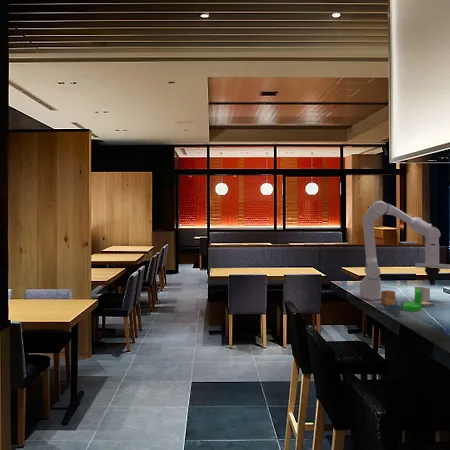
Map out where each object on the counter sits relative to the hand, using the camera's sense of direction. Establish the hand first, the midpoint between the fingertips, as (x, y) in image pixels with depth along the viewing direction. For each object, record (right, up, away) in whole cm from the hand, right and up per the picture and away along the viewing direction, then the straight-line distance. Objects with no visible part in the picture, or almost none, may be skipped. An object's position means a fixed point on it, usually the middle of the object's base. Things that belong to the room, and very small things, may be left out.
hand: (432, 284), depth 225 cm
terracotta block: (-22, -8, -9) cm, 25 cm away
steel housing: (-5, -7, -2) cm, 9 cm away
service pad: (-8, -8, -10) cm, 15 cm away
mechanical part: (-16, -8, -18) cm, 25 cm away
